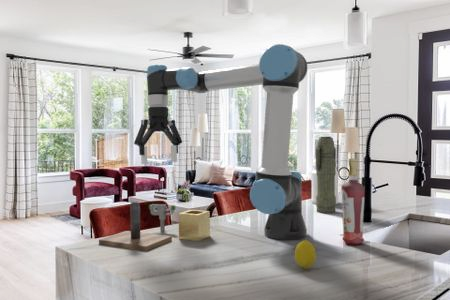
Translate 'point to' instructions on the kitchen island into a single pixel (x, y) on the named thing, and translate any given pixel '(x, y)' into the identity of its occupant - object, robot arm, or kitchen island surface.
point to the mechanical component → (161, 212)
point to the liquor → (353, 207)
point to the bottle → (314, 183)
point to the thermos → (326, 175)
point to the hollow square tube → (194, 225)
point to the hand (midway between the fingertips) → (159, 163)
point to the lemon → (305, 254)
